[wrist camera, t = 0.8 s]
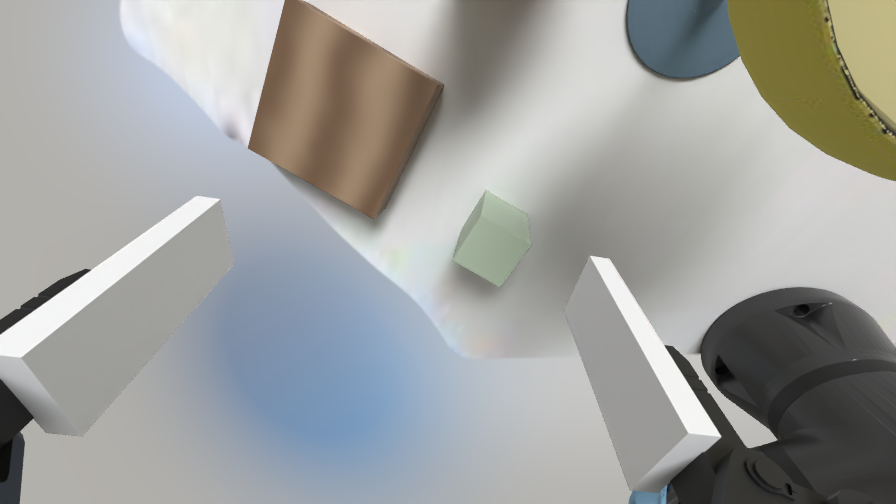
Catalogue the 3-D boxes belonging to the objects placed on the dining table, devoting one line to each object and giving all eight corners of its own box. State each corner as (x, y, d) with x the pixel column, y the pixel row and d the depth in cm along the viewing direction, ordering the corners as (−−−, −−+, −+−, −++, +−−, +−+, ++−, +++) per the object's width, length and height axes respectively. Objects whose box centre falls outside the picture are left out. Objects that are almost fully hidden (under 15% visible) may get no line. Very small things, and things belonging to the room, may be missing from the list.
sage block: (527, 214, 37) (531, 244, 30) (501, 250, 39) (500, 287, 32) (486, 189, 37) (480, 215, 29) (462, 228, 39) (452, 260, 32)
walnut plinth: (444, 85, 33) (437, 84, 30) (386, 207, 39) (373, 218, 36) (311, 4, 32) (286, -7, 29) (272, 142, 38) (247, 148, 35)
